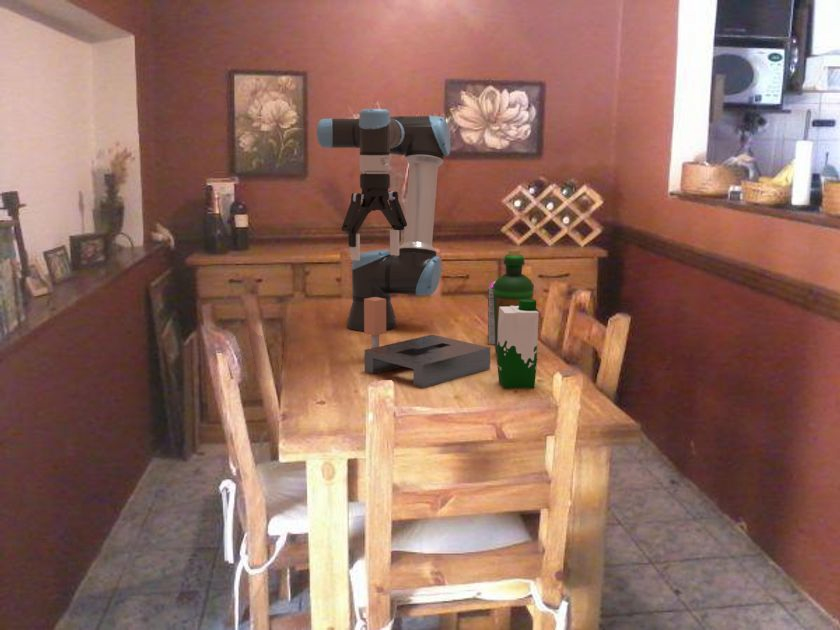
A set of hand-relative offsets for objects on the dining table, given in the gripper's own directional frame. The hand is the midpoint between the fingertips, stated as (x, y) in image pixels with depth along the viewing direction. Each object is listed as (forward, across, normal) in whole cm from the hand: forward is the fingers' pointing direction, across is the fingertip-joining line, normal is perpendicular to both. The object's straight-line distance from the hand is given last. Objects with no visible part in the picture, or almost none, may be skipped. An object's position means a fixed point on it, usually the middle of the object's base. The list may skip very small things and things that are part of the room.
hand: (375, 257), depth 213 cm
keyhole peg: (+27, 0, 0) cm, 27 cm away
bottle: (+27, +29, -22) cm, 45 cm away
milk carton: (+27, +8, -40) cm, 49 cm away
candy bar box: (+27, +39, -9) cm, 48 cm away
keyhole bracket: (+27, +2, -17) cm, 32 cm away
